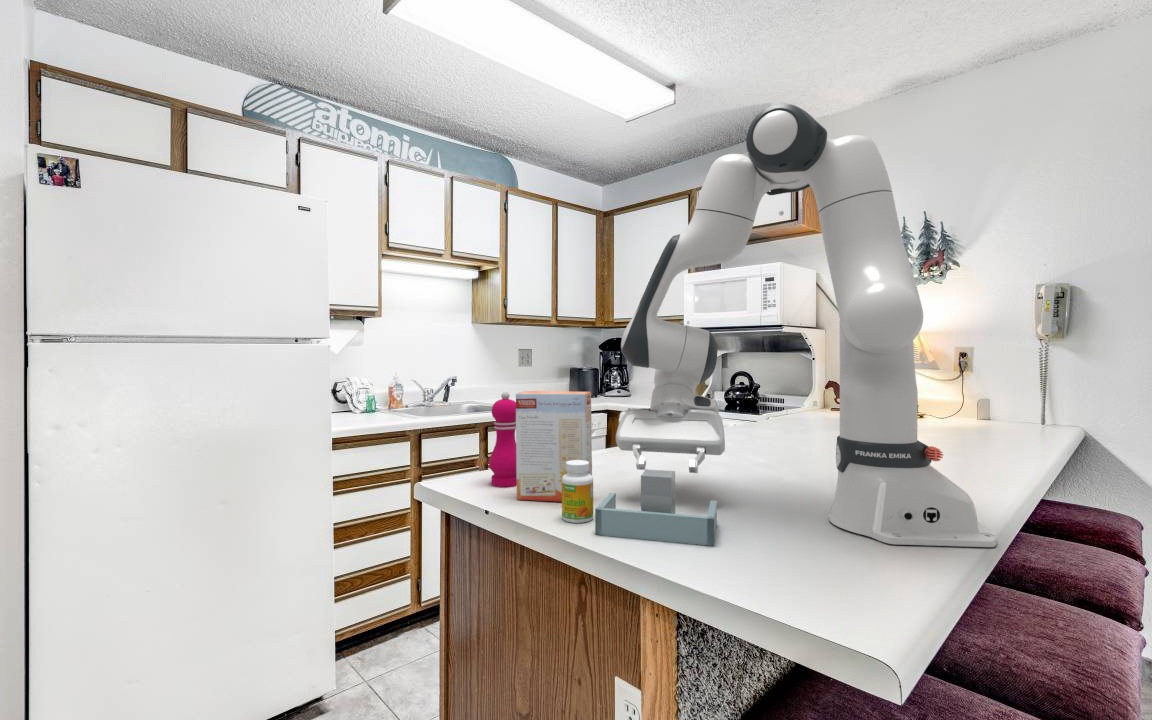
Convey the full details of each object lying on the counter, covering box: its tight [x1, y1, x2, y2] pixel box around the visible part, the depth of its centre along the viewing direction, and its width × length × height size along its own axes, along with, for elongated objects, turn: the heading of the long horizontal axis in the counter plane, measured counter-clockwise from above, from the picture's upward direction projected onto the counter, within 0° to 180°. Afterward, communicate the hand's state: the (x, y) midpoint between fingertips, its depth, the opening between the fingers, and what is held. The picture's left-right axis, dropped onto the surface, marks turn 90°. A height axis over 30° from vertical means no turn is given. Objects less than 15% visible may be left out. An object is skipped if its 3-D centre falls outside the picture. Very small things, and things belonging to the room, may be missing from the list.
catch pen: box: [594, 492, 718, 547], centre depth 86 cm, size 18×10×4 cm, turn 73°
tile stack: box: [640, 468, 676, 514], centre depth 87 cm, size 5×5×9 cm
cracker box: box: [515, 390, 593, 503], centre depth 105 cm, size 14×6×21 cm, turn 77°
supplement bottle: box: [561, 460, 594, 524], centre depth 92 cm, size 5×5×10 cm
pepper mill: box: [488, 391, 517, 488], centre depth 117 cm, size 7×7×20 cm
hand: (666, 469), depth 97 cm, fingers open, 8 cm apart
